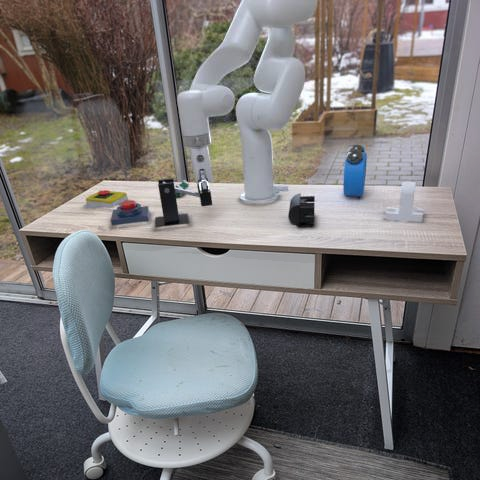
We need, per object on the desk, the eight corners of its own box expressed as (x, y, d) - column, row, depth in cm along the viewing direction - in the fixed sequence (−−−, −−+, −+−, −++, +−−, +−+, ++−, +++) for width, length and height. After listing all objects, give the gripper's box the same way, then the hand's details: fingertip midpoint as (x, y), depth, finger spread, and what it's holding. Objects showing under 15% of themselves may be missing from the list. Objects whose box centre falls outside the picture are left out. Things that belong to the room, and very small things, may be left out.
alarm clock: (362, 202, 146) (365, 152, 138) (341, 201, 148) (343, 152, 140) (364, 188, 156) (368, 141, 148) (345, 188, 158) (347, 141, 150)
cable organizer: (422, 221, 130) (427, 185, 125) (384, 219, 133) (388, 184, 128) (423, 215, 134) (428, 179, 129) (386, 212, 137) (390, 178, 132)
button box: (149, 213, 151) (147, 200, 149) (149, 224, 144) (146, 209, 141) (114, 218, 150) (111, 204, 148) (112, 228, 143) (109, 214, 140)
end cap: (290, 215, 141) (289, 193, 137) (314, 215, 140) (314, 192, 136) (288, 228, 133) (288, 205, 129) (314, 228, 132) (314, 204, 128)
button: (136, 205, 147) (135, 199, 146) (135, 209, 143) (134, 204, 142) (122, 206, 146) (121, 201, 145) (121, 211, 143) (120, 205, 142)
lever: (204, 197, 142) (206, 190, 141) (206, 203, 138) (208, 195, 137) (161, 187, 139) (162, 179, 138) (161, 193, 134) (162, 185, 133)
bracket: (188, 217, 146) (182, 175, 139) (189, 226, 140) (183, 183, 133) (155, 220, 145) (148, 179, 138) (155, 230, 139) (148, 187, 132)
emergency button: (97, 186, 166) (132, 189, 160) (100, 198, 168) (134, 202, 162) (79, 194, 159) (115, 198, 153) (82, 207, 161) (118, 211, 155)
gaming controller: (172, 204, 163) (182, 192, 159) (164, 196, 162) (174, 184, 159) (182, 195, 170) (192, 183, 167) (174, 187, 169) (184, 176, 166)
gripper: (213, 145, 124) (221, 208, 134) (207, 131, 138) (214, 188, 148) (185, 149, 124) (194, 212, 133) (182, 134, 138) (191, 192, 147)
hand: (205, 199), depth 140 cm, fingers open, 9 cm apart
